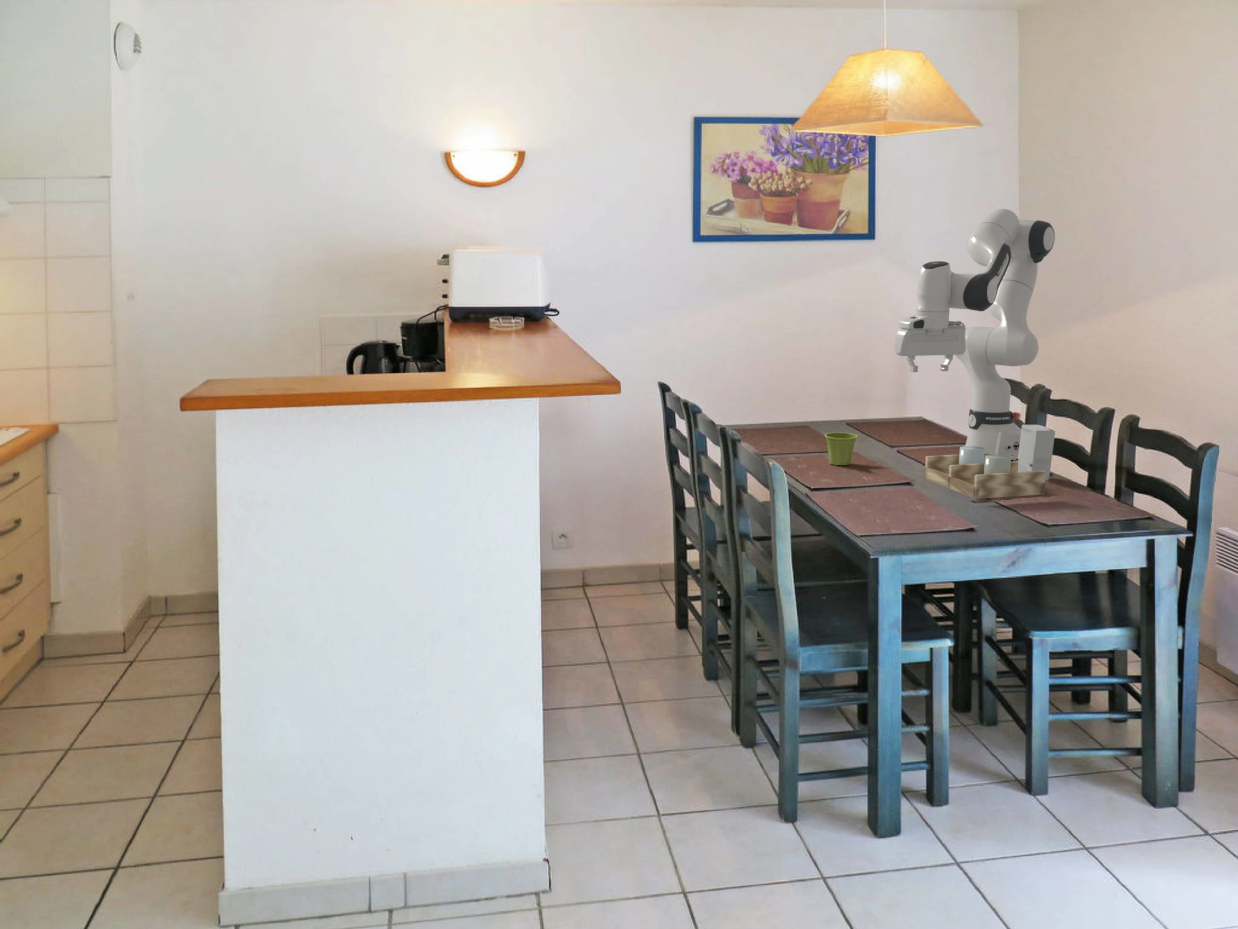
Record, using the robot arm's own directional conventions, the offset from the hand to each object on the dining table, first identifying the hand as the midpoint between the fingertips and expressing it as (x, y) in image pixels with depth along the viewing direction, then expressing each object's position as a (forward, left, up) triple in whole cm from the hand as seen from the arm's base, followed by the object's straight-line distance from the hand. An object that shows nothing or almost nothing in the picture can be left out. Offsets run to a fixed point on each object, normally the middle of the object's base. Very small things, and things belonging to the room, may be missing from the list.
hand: (929, 371), depth 310 cm
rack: (-5, +22, -29) cm, 37 cm away
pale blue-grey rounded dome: (-5, +16, -28) cm, 33 cm away
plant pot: (+17, -18, -29) cm, 38 cm away
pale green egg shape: (-5, +28, -28) cm, 40 cm away
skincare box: (-26, +14, -29) cm, 42 cm away
